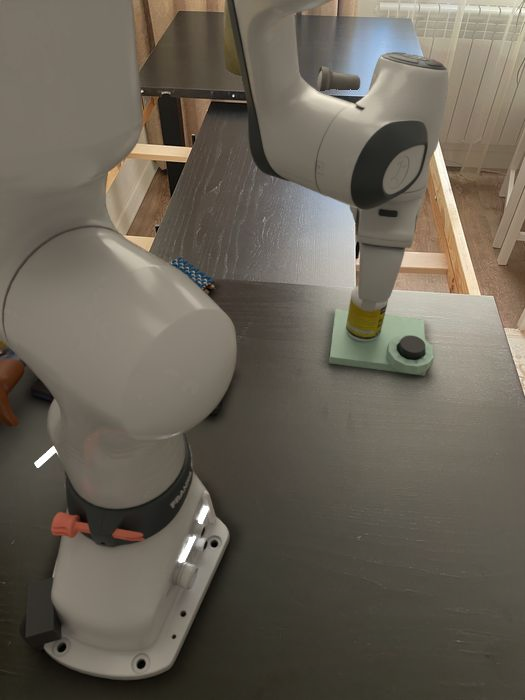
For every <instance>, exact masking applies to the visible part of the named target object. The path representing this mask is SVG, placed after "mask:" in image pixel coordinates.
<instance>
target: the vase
mask: <svg viewBox="0 0 525 700" xmlns="http://www.w3.org/2000/svg"><path fill="white" fill-rule="evenodd" d="M222 29H223V32H222V33H223V36H222V37H223V38H222V39H223V41H222V42H223V57H224V58H223V59H224V65H225V69H226V71H227V70H228V71H229V72H231V73H233V74H235V75H239V76H241V71H240V66H239V61H238V56H237V51H236V46H235V41H234V36H233V31H232V26H231V21H230V15H229V9H228V3H227V0H225V1H224V10H223V27H222ZM228 71H227V72H228Z"/></svg>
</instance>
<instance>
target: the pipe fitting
mask: <svg viewBox="0 0 525 700" xmlns="http://www.w3.org/2000/svg"><path fill="white" fill-rule="evenodd" d="M316 86H317V87H318V88H319V89H320V91H325V90H330V89H336V90H337V89H338V90H350V89H351V90H358V89H359V88H360V89H361V77H360V76H359V75H358V74H351V73H344V72H343V73H341V72H335V71H332V70H331V69H330V68H329V67H328V66H321V67H319V70H318V73H317V79H316ZM360 89H359V90H360Z"/></svg>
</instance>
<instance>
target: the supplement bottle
mask: <svg viewBox="0 0 525 700" xmlns="http://www.w3.org/2000/svg"><path fill="white" fill-rule="evenodd" d="M388 303H389V299H388V300H387V301H386V302H385V303H378V302H376V306H375V310H374V311H364V310H362V308H361V307H362V300H361V299H360V298H359V295H358V285H356V286H355V287H354V288H353V289H352V291H351V294H350V300H349V305H348V310H349V311H348V316H347V322H346V331H347V333H348V334H349V336H350V337H352V338H353V339H355V340H358V341H364V342H366V341H372V340H375V339H376V338H377V337H378V336H379V335H380V332H381V329H382V324H383V320H384V316H385V315H386V312H387V311H386V310H387V307H388Z"/></svg>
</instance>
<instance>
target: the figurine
mask: <svg viewBox="0 0 525 700" xmlns="http://www.w3.org/2000/svg"><path fill="white" fill-rule="evenodd" d="M3 348H8V346H7V345H5V344H4V343H3V342H2V341H1V340H0V355H1V356H0V422H1V424H3V425H4V426H6V427H9V428H15V427H18V426H19V425H20V422H19V420H18V418H17V416H16V415H15V413H14V411H13V409H12V407H11V404H10V399H9V395H10V394H11V392H12V391H13V389H15V387H16V386H17V385H18V383H19V382H20V380H21V379H22V378H23V376H24V374H25V371H26V370H25V368H26V366H27V365H26V364H25V362H23V361H22V360H21V359H20V358H19V357H18V356H17V355H16V354H15V353H14V352H13V351H12V350H11V349H10V348H9V350H8V351H7V352H6V353H5V354H4V355H2V354H3V353H4V351H3V350H2V349H3Z"/></svg>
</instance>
